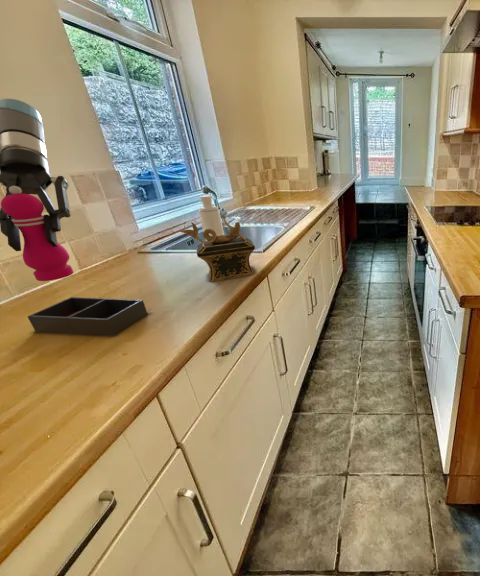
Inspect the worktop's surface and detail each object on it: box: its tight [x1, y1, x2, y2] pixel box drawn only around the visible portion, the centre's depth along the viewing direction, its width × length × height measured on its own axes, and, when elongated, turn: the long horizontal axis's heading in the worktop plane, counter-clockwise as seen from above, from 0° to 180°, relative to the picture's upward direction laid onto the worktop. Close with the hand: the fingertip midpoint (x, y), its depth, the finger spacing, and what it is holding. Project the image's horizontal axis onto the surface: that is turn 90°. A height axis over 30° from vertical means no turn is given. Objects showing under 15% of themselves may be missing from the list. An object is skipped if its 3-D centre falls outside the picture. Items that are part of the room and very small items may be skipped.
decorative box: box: [179, 213, 256, 282], centre depth 103 cm, size 20×10×20 cm, turn 119°
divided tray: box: [26, 296, 149, 337], centre depth 77 cm, size 20×10×5 cm, turn 85°
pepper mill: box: [0, 186, 74, 282], centre depth 69 cm, size 7×7×20 cm
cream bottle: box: [197, 194, 225, 241], centre depth 119 cm, size 7×7×25 cm
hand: (33, 245), depth 67 cm, fingers closed on pepper mill, 5 cm apart
